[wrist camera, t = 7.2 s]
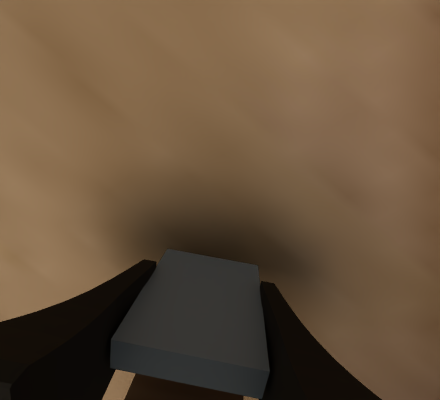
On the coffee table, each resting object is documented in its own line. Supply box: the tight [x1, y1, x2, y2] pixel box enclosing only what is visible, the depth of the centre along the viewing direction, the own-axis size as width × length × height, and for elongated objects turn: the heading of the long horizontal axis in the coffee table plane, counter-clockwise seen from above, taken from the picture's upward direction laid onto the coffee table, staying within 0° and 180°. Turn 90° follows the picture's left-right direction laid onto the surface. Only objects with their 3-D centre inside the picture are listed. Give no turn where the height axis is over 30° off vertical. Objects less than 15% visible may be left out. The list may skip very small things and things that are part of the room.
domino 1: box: [110, 249, 270, 399], centre depth 11 cm, size 1×5×6 cm, turn 81°
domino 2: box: [124, 373, 243, 400], centre depth 13 cm, size 1×5×6 cm, turn 81°
